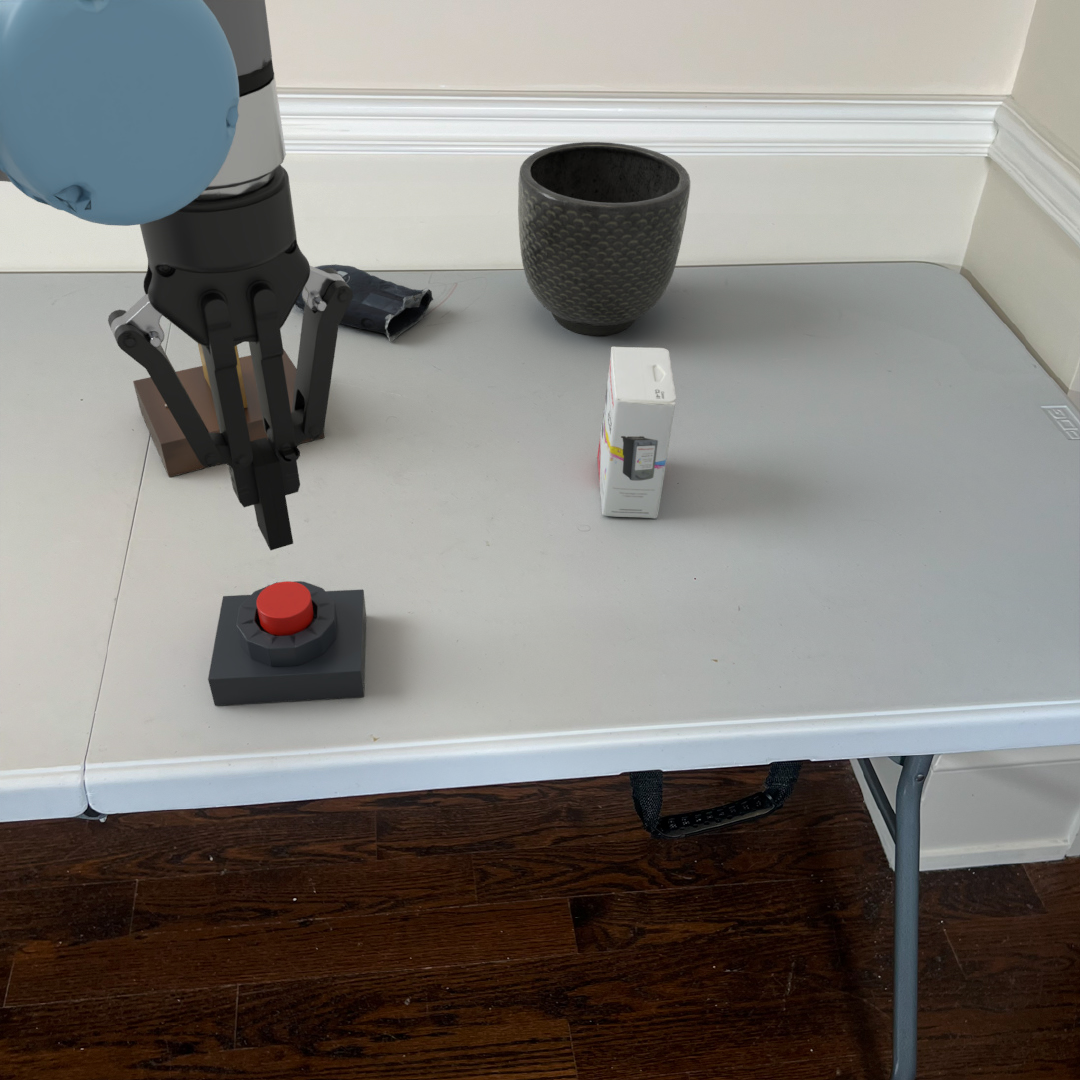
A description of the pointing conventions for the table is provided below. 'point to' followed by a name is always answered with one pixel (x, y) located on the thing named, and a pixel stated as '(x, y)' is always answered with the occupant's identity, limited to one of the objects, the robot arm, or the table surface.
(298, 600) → the button
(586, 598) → the table surface
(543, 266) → the planter
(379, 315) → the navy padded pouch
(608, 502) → the ink box
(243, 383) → the thumb turn
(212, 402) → the plate
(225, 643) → the grey square base
